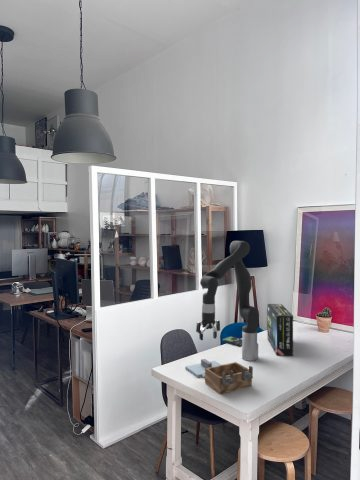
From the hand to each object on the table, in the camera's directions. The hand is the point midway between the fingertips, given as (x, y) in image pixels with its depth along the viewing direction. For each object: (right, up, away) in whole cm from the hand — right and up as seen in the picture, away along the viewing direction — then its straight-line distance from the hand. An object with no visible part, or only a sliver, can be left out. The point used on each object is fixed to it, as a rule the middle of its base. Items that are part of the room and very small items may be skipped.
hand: (208, 339), depth 207 cm
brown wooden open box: (+10, -19, -18) cm, 28 cm away
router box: (+53, -18, +43) cm, 70 cm away
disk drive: (+23, -18, +52) cm, 60 cm away
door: (-1, -19, +2) cm, 19 cm away
